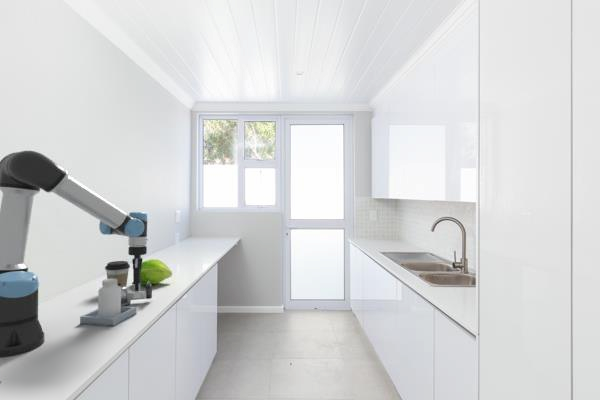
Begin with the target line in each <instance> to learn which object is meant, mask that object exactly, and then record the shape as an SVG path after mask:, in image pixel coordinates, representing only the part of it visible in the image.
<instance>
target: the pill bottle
mask: <svg viewBox="0 0 600 400" xmlns="http://www.w3.org/2000/svg"><path fill="white" fill-rule="evenodd" d="M101 282H102V283H101V285H102V286H101V287H99V289H98V291H97V292H98V293H97V294H98V297H97V299H98V300H97V303H98V304H97V309H98V317H106V318H114V317H116V316H118V315H120V314H121V287H120V286H118V285H117V279H114V278H112V279H107V278H106V279H105V278H104V279H103V280H102V281H101Z"/></svg>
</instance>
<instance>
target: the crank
mask: <svg viewBox="0 0 600 400" xmlns="http://www.w3.org/2000/svg"><path fill="white" fill-rule="evenodd" d="M144 286H145V288H144V289H145V290H140V298H133V291H129V286H128V285H126V286H122V287H121V303H123V302H127V301H128V300H131V301H136V300H146V299H147V300H149V299H152V298H153V284H150V281H147V285H144Z"/></svg>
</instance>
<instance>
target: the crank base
mask: <svg viewBox="0 0 600 400" xmlns="http://www.w3.org/2000/svg"><path fill="white" fill-rule="evenodd" d="M131 303H132V300H128V301H127V302H123V303H121V306H126V307H128V306H130V305H131Z"/></svg>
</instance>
